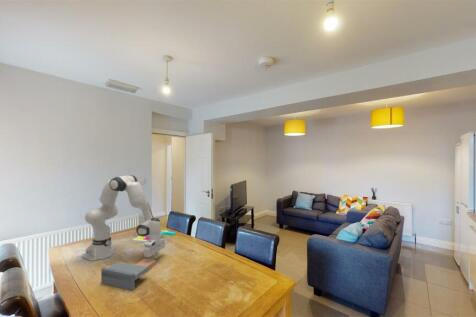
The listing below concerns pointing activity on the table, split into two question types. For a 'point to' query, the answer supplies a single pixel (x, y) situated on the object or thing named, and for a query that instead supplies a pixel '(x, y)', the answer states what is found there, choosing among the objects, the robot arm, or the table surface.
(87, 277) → the table surface
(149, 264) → the tile
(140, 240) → the puzzle game
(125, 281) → the grey block
